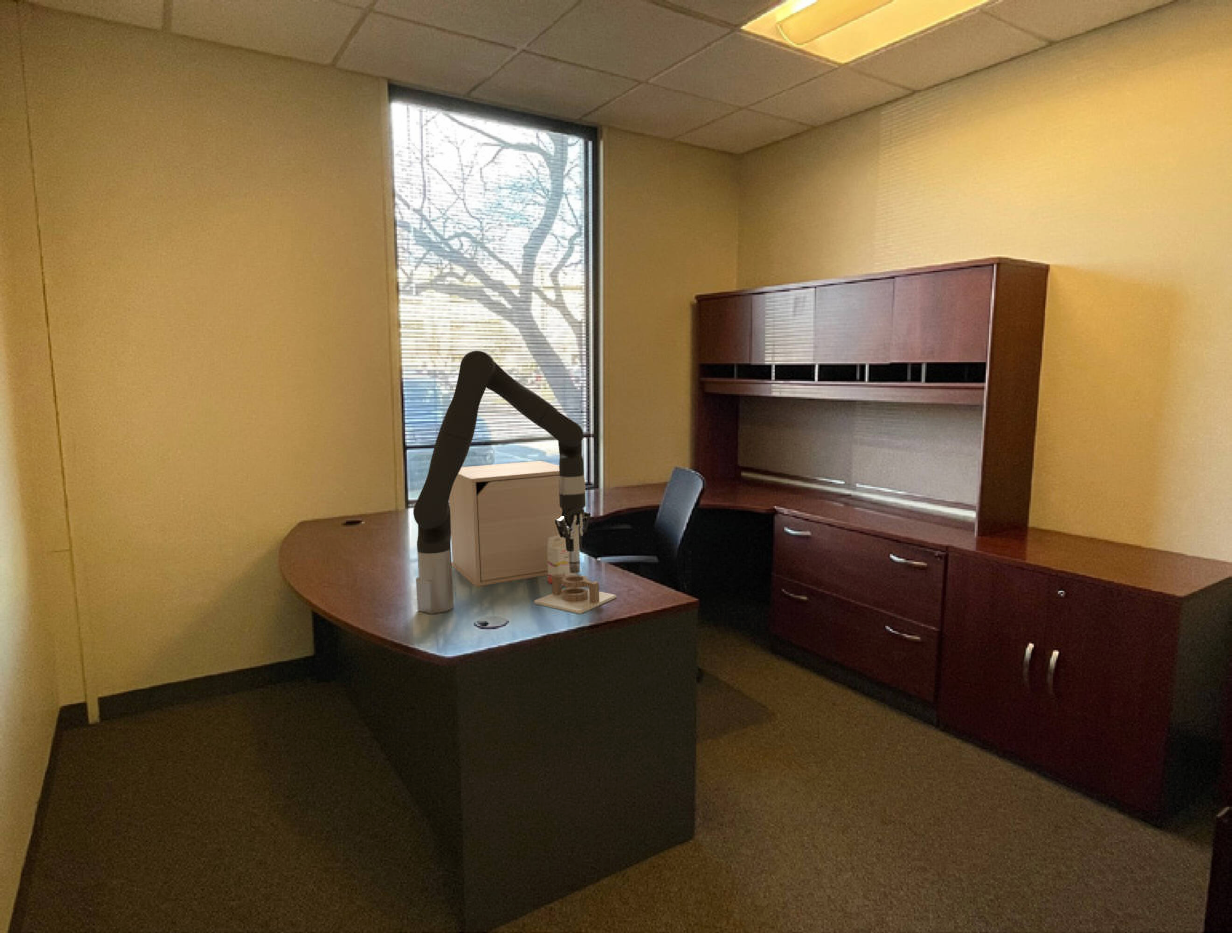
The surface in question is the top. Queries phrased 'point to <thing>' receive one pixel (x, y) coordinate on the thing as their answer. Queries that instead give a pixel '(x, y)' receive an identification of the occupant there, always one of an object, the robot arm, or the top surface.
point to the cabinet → (504, 520)
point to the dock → (573, 605)
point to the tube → (575, 552)
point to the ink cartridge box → (558, 558)
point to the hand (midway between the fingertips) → (574, 549)
